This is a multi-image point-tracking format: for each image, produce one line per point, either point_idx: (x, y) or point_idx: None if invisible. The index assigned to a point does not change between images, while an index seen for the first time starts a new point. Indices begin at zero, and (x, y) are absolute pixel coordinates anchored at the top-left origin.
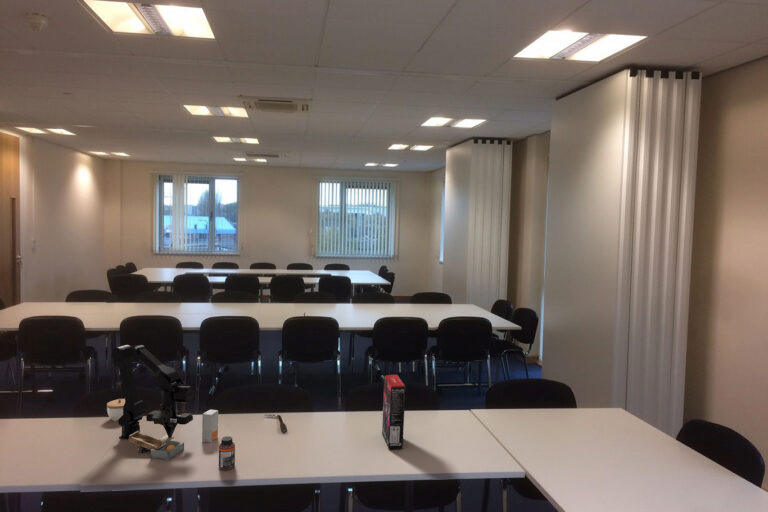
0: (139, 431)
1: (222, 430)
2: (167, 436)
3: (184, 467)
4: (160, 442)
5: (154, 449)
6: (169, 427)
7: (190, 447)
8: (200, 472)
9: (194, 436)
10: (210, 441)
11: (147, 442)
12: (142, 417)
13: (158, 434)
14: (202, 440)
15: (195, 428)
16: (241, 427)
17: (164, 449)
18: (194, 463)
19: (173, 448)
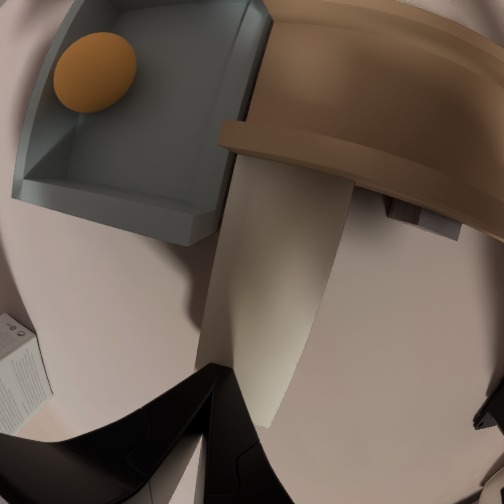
0: (500, 420)
1: (57, 434)
2: (253, 386)
3: (45, 4)
4: (244, 125)
5: (276, 27)
6: (128, 461)
7: (41, 239)
8: (9, 15)
9: (116, 418)
10: (2, 314)
11: (443, 113)
12: (502, 500)
13: (382, 452)
14: (30, 335)
15: (181, 490)
16: (31, 431)
17: (204, 140)
18: (12, 51)
19: (57, 43)
